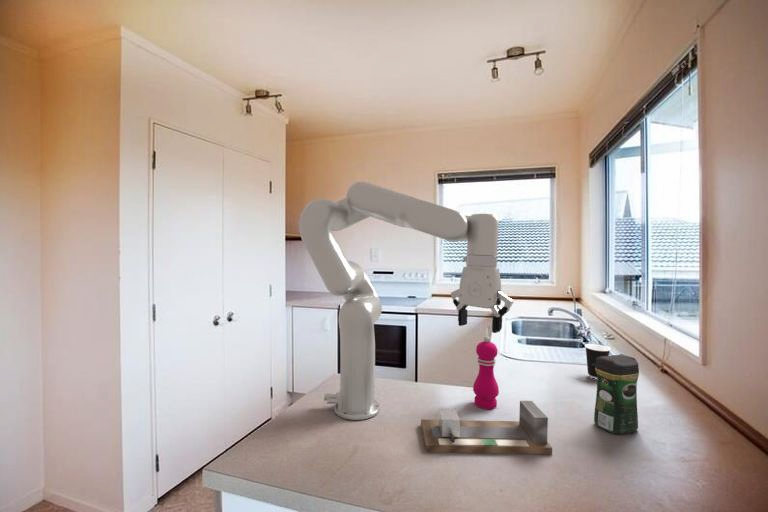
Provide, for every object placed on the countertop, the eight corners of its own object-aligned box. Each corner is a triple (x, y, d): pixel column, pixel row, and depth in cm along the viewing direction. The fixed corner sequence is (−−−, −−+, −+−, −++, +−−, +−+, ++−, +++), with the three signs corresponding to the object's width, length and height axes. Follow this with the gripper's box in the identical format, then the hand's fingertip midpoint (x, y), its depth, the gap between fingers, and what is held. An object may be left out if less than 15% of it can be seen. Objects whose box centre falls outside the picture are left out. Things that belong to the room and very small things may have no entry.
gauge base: (426, 451, 81) (426, 418, 81) (420, 425, 93) (421, 396, 93) (552, 454, 81) (553, 421, 81) (530, 427, 93) (531, 398, 93)
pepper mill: (499, 411, 102) (501, 340, 101) (473, 408, 103) (474, 338, 102) (497, 400, 109) (498, 334, 108) (472, 398, 110) (473, 332, 110)
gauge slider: (444, 443, 81) (444, 425, 81) (438, 423, 90) (438, 407, 90) (462, 443, 81) (462, 425, 81) (454, 424, 90) (455, 408, 90)
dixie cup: (597, 373, 134) (598, 343, 134) (615, 381, 126) (616, 349, 126) (578, 374, 132) (579, 344, 132) (595, 382, 125) (596, 350, 124)
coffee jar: (614, 417, 99) (617, 349, 98) (643, 432, 91) (646, 358, 91) (587, 422, 96) (589, 352, 95) (614, 437, 88) (617, 362, 88)
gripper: (445, 260, 97) (442, 324, 97) (506, 264, 85) (503, 337, 85) (460, 260, 102) (458, 321, 103) (520, 264, 90) (517, 332, 91)
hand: (478, 328), depth 94 cm, fingers open, 9 cm apart
